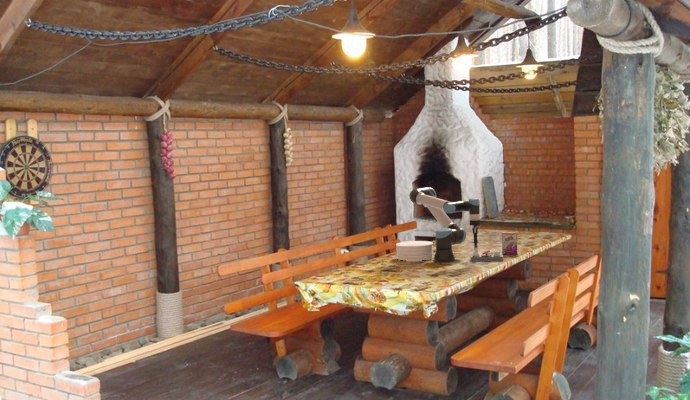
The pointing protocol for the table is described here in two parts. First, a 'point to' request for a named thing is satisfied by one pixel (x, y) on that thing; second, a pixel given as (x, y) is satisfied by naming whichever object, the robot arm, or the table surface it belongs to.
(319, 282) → the table surface
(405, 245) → the plate stack
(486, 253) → the rocker
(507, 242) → the candy bar box
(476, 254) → the cream rounded ball
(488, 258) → the panel
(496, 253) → the pale green cube
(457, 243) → the robot arm
